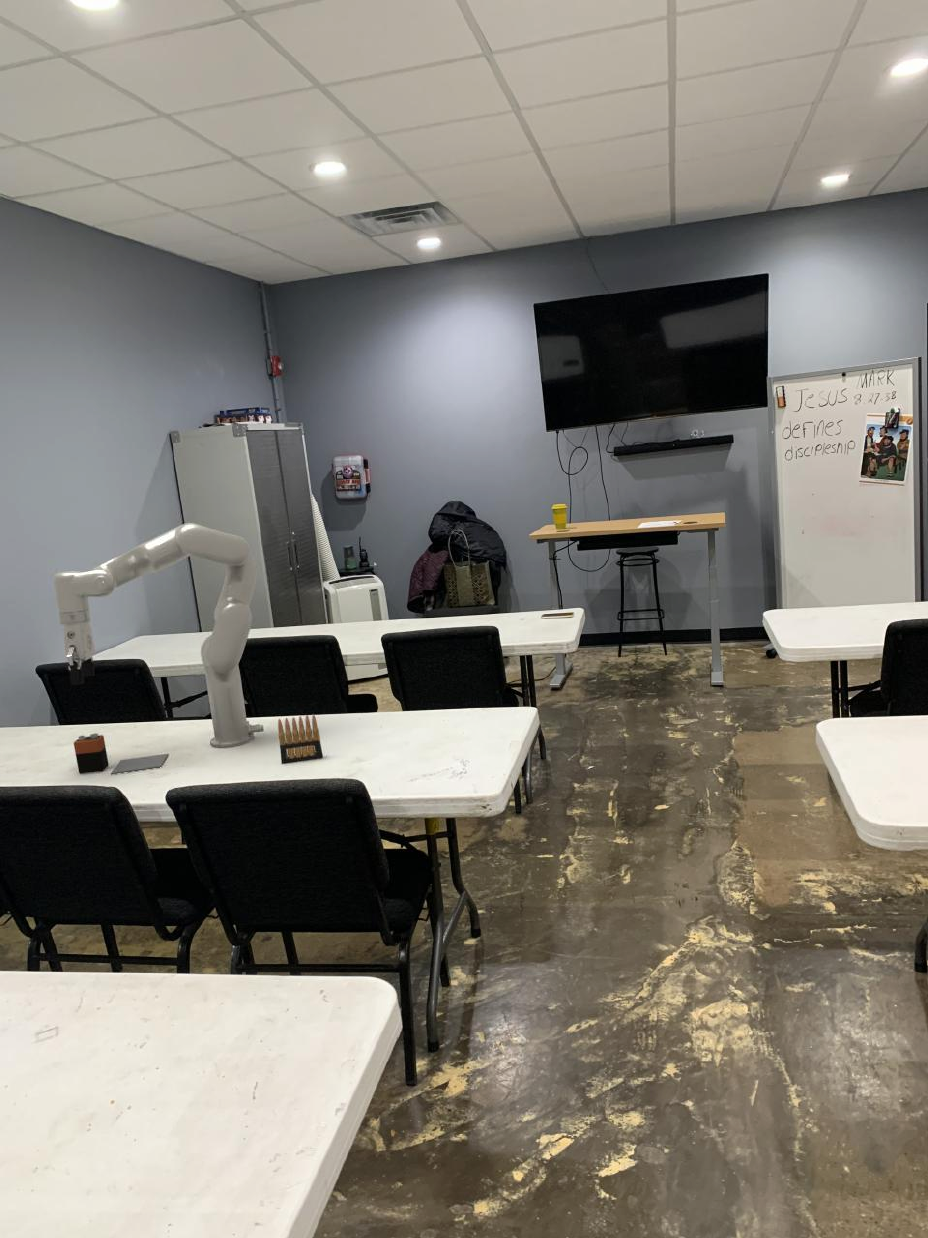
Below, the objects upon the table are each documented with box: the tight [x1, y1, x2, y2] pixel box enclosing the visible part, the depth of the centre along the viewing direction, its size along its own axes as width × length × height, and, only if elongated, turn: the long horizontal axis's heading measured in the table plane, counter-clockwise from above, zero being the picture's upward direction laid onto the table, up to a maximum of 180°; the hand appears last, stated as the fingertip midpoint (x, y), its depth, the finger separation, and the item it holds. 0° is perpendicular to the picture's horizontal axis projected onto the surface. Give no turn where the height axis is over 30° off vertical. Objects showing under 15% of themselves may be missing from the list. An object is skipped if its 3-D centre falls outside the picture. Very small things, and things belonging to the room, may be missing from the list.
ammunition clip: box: [277, 713, 324, 765], centre depth 226 cm, size 11×2×12 cm, turn 98°
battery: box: [73, 732, 110, 775], centre depth 235 cm, size 4×7×10 cm, turn 93°
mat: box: [110, 752, 170, 776], centre depth 236 cm, size 13×11×1 cm
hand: (83, 680), depth 233 cm, fingers open, 9 cm apart
